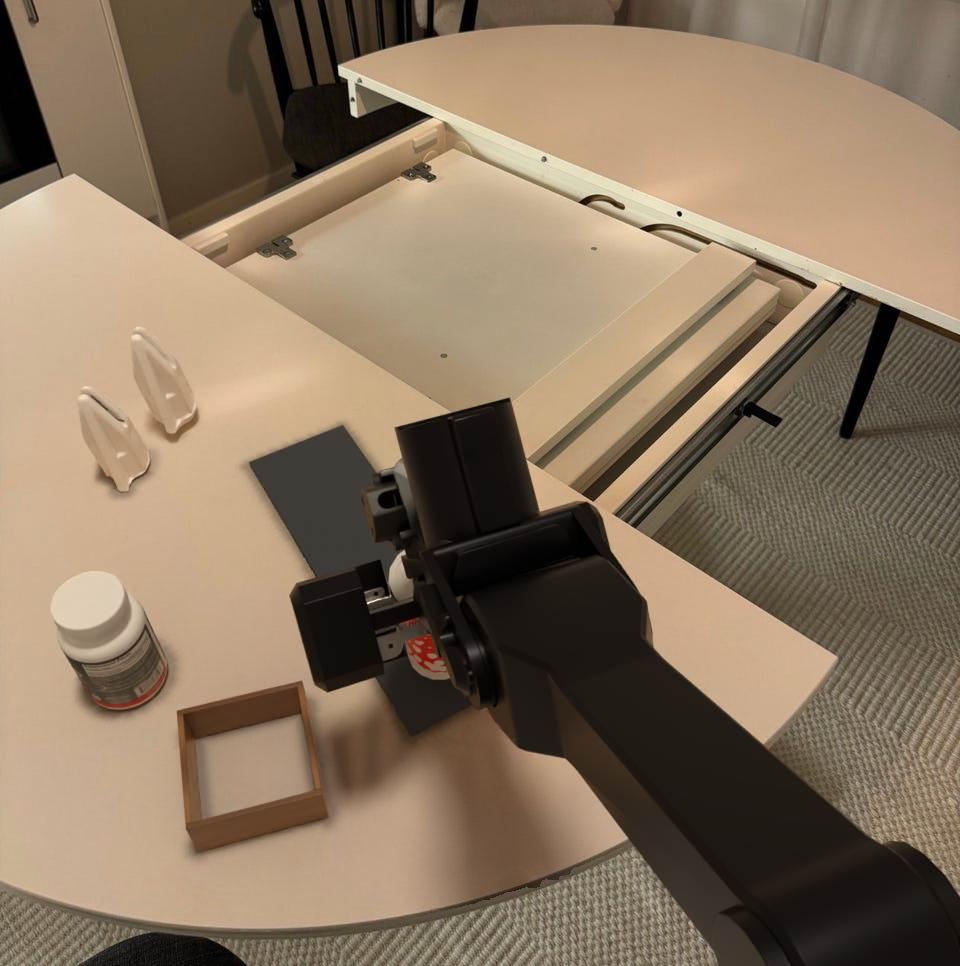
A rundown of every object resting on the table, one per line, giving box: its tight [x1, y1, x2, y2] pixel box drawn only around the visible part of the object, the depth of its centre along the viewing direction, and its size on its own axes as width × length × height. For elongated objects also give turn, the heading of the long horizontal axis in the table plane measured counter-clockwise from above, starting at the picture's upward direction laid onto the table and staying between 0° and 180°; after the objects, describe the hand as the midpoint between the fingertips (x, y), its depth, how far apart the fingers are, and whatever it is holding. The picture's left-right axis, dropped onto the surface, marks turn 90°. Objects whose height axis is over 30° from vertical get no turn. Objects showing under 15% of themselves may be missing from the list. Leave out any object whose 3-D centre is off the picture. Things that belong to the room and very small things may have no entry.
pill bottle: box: [49, 570, 168, 710], centre depth 66 cm, size 6×6×10 cm
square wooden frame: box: [176, 680, 330, 852], centre depth 63 cm, size 8×8×4 cm
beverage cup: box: [389, 550, 450, 680], centre depth 63 cm, size 6×6×14 cm
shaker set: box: [77, 326, 198, 493], centre depth 81 cm, size 12×4×11 cm, turn 152°
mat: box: [248, 424, 473, 738], centre depth 76 cm, size 30×9×1 cm, turn 31°
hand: (430, 577), depth 64 cm, fingers closed on beverage cup, 6 cm apart
